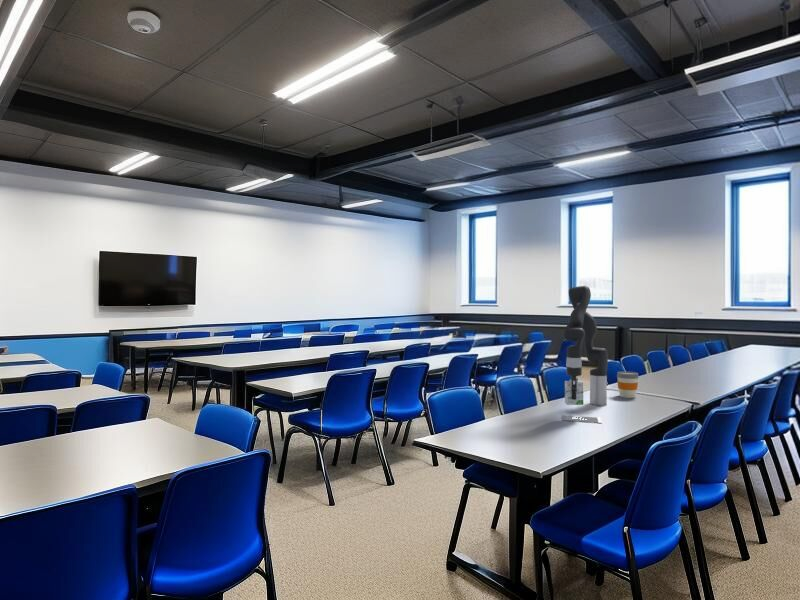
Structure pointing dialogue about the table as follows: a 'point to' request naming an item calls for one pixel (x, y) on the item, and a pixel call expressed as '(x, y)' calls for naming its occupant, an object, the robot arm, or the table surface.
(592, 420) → the mat
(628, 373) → the reusable coffee cup
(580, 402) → the ink box
